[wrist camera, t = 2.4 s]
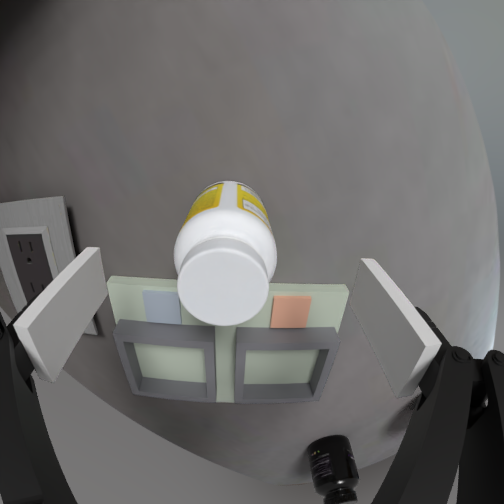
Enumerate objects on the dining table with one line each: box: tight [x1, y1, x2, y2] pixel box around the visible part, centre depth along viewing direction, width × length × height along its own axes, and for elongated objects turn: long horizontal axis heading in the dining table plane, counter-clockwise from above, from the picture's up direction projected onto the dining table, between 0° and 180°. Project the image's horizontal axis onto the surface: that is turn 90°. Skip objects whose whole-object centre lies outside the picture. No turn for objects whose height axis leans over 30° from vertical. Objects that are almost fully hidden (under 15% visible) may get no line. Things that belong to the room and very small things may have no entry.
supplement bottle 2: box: [308, 435, 359, 504], centre depth 32 cm, size 7×7×12 cm
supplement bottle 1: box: [174, 181, 277, 326], centre depth 17 cm, size 5×5×10 cm
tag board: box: [107, 276, 349, 404], centre depth 25 cm, size 15×20×3 cm
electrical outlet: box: [0, 196, 98, 335], centre depth 21 cm, size 13×10×2 cm
